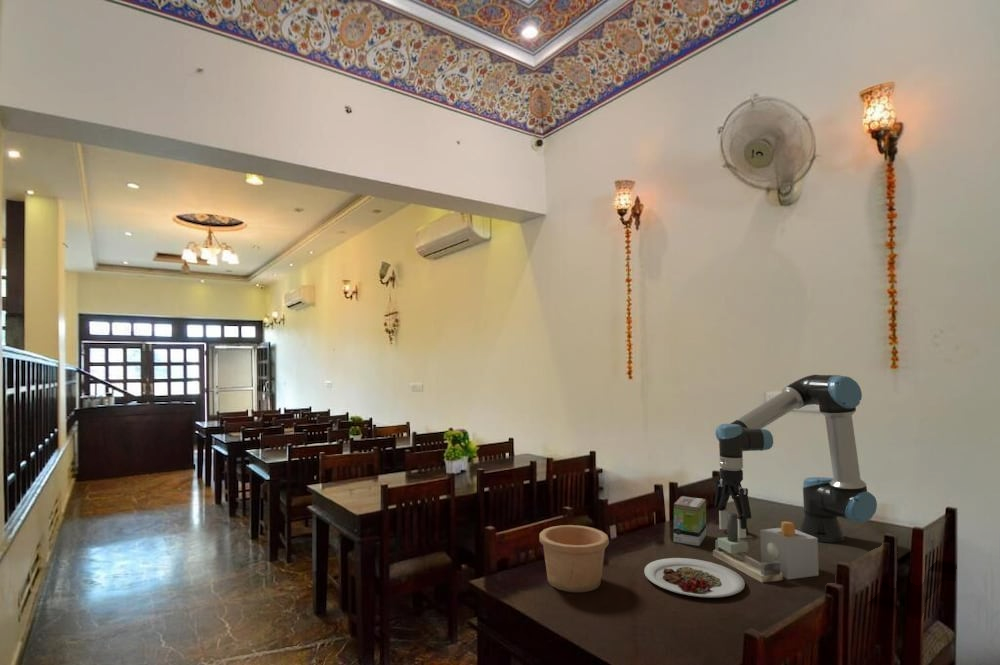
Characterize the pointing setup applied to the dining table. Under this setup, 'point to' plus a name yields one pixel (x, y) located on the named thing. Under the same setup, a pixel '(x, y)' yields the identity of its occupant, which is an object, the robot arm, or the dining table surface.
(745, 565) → the rail board
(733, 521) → the carriage
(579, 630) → the dining table surface
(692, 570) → the plated food
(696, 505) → the tea box
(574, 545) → the pottery
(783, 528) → the plunger
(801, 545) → the grey cube box
